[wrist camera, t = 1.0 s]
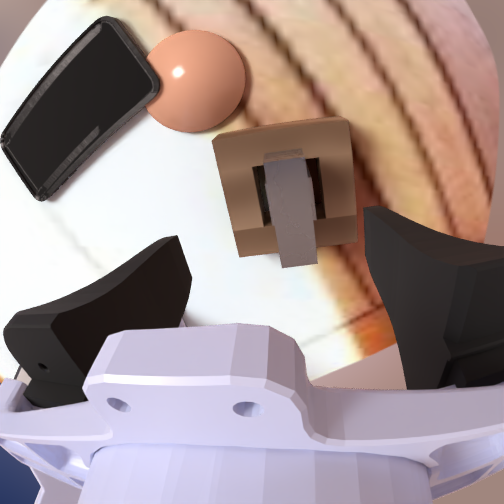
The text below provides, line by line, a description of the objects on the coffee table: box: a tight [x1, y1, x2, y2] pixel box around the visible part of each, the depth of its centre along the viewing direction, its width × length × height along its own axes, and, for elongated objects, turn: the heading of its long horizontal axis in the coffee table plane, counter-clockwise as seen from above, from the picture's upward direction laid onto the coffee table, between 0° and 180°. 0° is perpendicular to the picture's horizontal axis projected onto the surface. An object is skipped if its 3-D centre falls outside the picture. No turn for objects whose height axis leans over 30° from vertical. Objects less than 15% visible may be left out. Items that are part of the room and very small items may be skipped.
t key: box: [263, 148, 318, 268], centre depth 19 cm, size 6×3×6 cm, turn 11°
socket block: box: [212, 116, 358, 257], centre depth 20 cm, size 8×8×2 cm
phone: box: [0, 16, 160, 202], centre depth 19 cm, size 8×1×15 cm
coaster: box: [145, 30, 245, 132], centre depth 18 cm, size 7×7×1 cm
